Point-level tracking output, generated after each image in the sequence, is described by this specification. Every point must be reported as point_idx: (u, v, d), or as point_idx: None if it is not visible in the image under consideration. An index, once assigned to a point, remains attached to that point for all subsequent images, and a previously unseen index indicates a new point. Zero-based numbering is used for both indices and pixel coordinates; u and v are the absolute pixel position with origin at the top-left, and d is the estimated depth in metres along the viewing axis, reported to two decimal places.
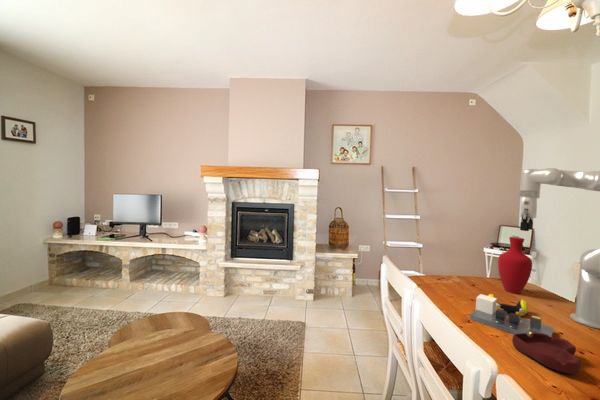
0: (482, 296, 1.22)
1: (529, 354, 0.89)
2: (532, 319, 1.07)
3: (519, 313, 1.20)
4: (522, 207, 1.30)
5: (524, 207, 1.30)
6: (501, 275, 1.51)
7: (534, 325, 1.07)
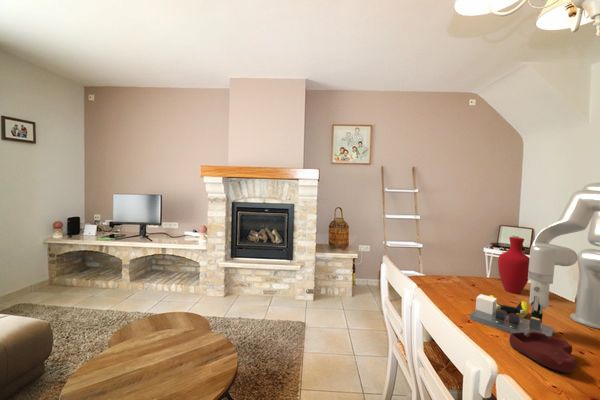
0: (482, 296, 1.22)
1: (526, 353, 0.90)
2: (531, 320, 1.06)
3: None
4: (532, 294, 1.06)
5: (534, 294, 1.06)
6: (501, 275, 1.51)
7: (533, 326, 1.06)
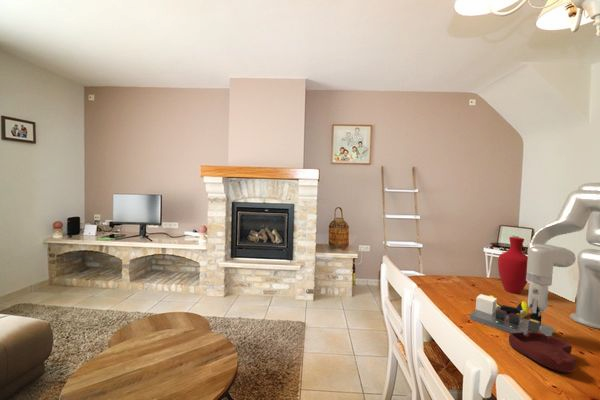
0: (482, 296, 1.22)
1: (525, 353, 0.90)
2: (530, 323, 1.04)
3: None
4: (530, 296, 1.04)
5: (532, 296, 1.04)
6: (501, 275, 1.51)
7: (532, 329, 1.04)
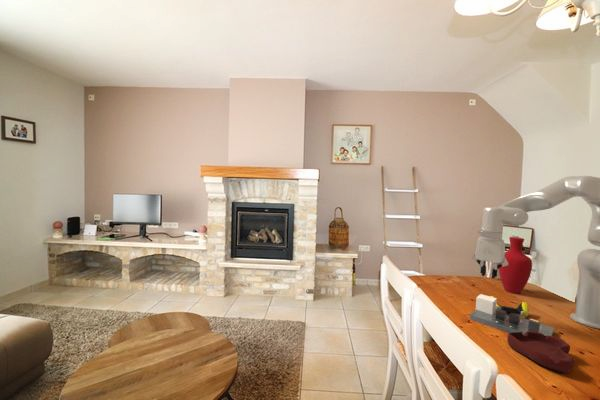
0: (482, 296, 1.22)
1: (523, 352, 0.90)
2: (530, 322, 1.05)
3: (520, 316, 1.17)
4: None
5: None
6: (501, 275, 1.51)
7: (532, 328, 1.04)
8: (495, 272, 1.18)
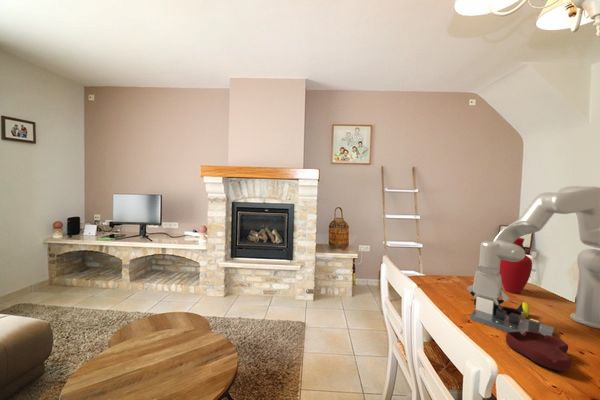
0: (482, 296, 1.22)
1: (522, 352, 0.90)
2: (530, 322, 1.05)
3: (521, 316, 1.17)
4: None
5: None
6: (501, 275, 1.51)
7: (532, 328, 1.04)
8: (496, 307, 1.17)
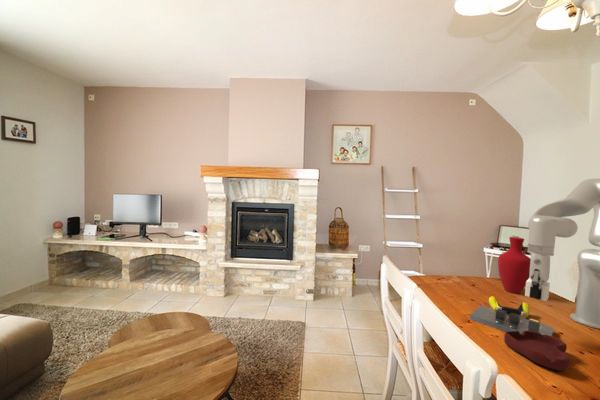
0: None
1: (520, 351, 0.91)
2: (530, 322, 1.05)
3: (521, 316, 1.17)
4: (532, 266, 1.02)
5: (534, 267, 1.01)
6: (501, 275, 1.51)
7: (532, 328, 1.04)
8: None
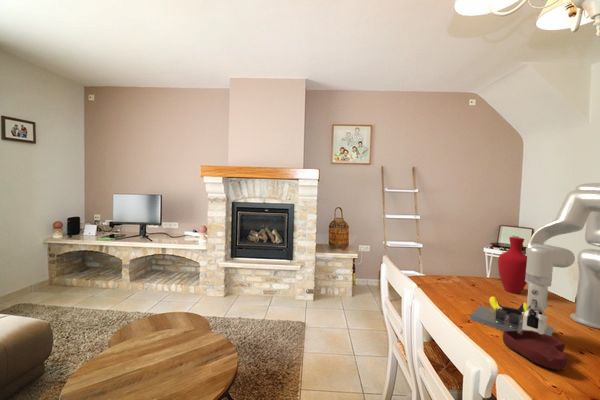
0: None
1: (518, 350, 0.91)
2: None
3: (521, 316, 1.17)
4: (529, 297, 1.02)
5: (532, 297, 1.02)
6: (501, 275, 1.51)
7: None
8: None
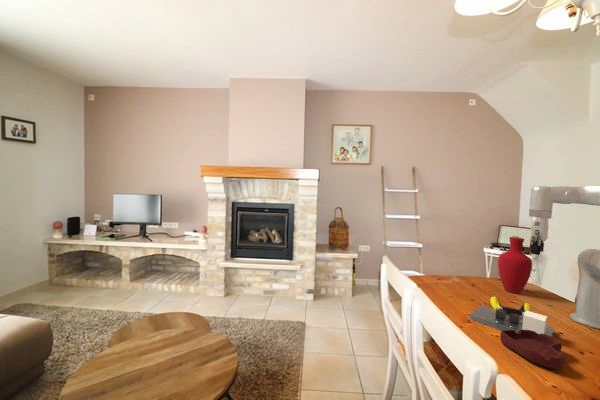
0: (533, 316, 1.04)
1: (515, 350, 0.91)
2: None
3: (522, 317, 1.16)
4: (532, 228, 1.18)
5: (535, 228, 1.18)
6: (501, 275, 1.51)
7: None
8: (541, 245, 1.24)
